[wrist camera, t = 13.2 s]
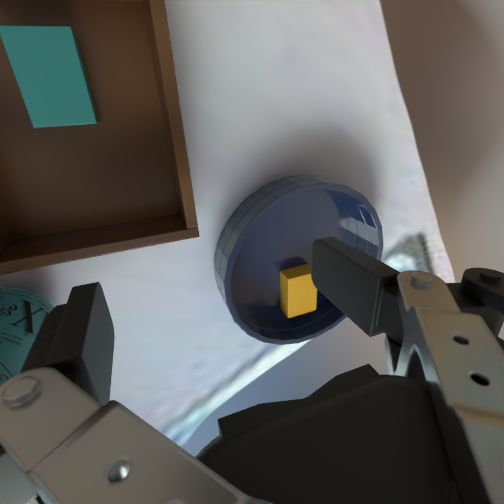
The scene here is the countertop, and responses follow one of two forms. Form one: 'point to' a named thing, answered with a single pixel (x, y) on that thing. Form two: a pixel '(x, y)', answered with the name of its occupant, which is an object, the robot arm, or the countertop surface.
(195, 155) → the countertop surface
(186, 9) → the countertop surface
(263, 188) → the bowl
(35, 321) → the beverage bottle
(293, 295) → the block
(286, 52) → the countertop surface
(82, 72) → the block
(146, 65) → the box
